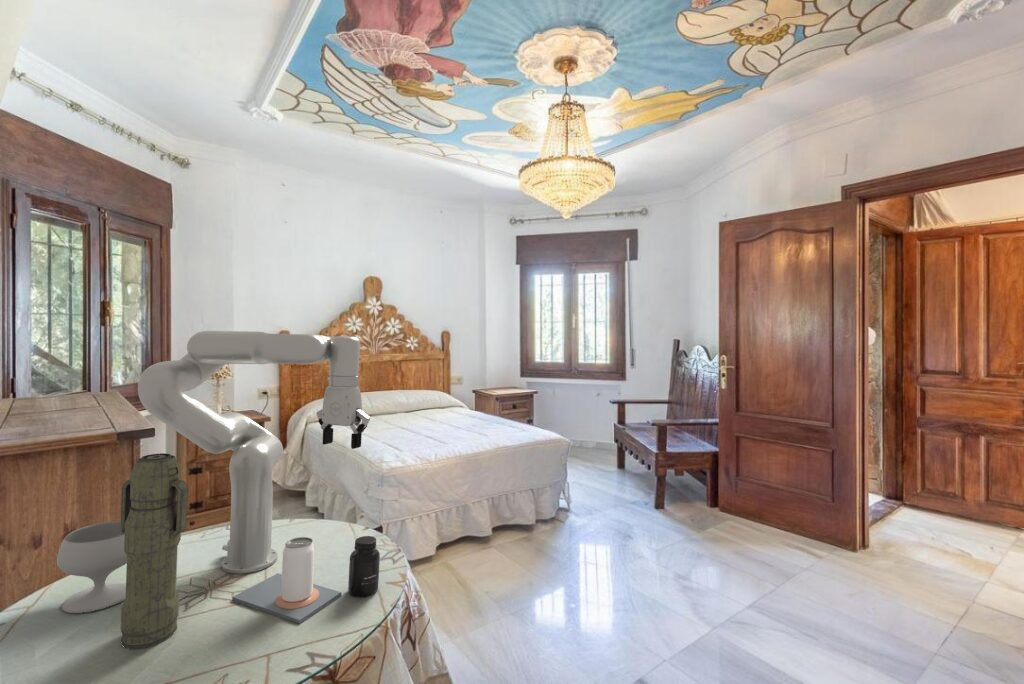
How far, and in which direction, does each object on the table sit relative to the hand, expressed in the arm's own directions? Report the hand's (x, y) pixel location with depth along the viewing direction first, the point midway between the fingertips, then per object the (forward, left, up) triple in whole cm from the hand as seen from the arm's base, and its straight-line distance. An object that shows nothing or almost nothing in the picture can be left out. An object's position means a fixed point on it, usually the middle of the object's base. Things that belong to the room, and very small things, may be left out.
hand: (341, 445), depth 126 cm
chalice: (-32, -38, -31) cm, 58 cm away
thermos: (-9, -41, -31) cm, 52 cm away
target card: (+4, -20, -30) cm, 37 cm away
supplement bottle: (+17, -10, -31) cm, 36 cm away
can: (+6, -20, -30) cm, 36 cm away
